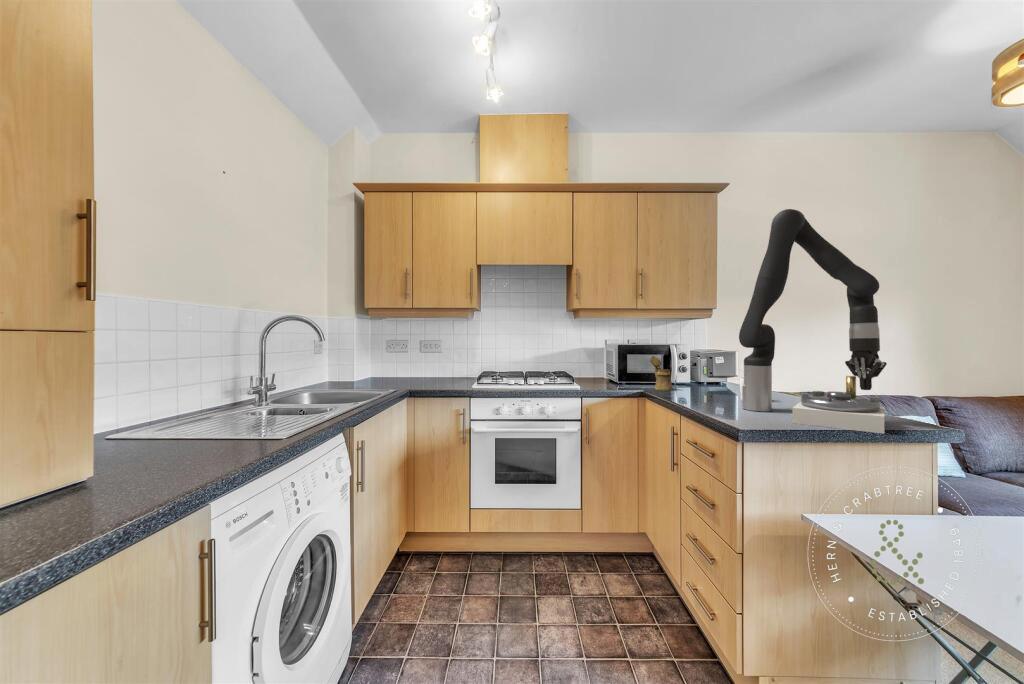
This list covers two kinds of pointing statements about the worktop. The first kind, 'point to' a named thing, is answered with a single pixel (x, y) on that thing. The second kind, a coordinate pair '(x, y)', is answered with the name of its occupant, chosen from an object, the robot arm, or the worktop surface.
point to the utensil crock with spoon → (661, 376)
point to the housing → (840, 418)
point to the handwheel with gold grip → (841, 399)
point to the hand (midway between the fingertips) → (865, 389)
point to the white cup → (741, 385)
